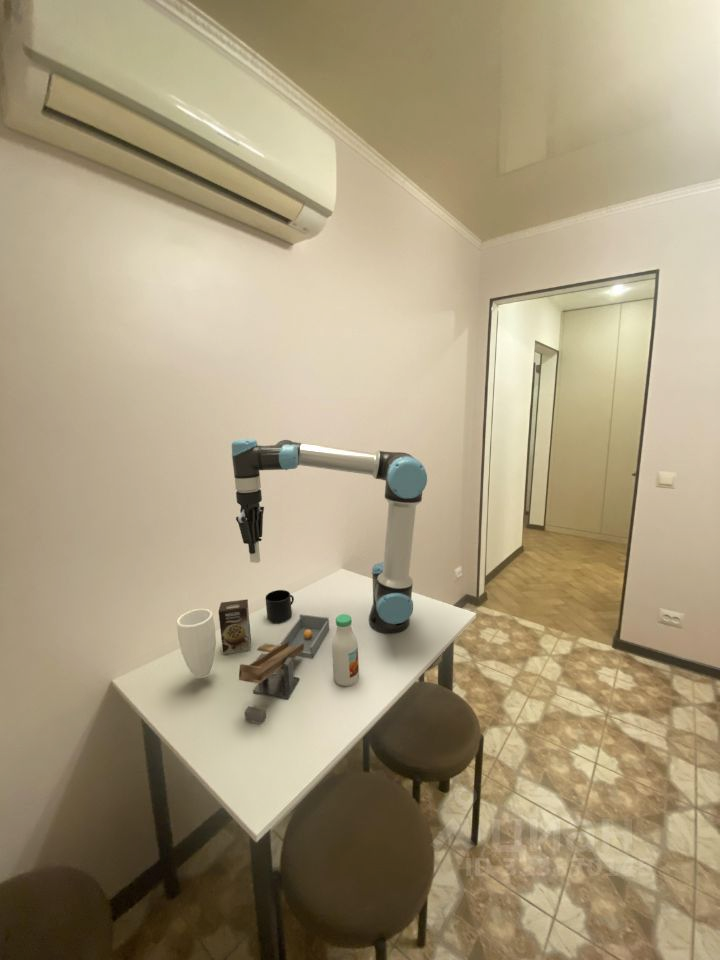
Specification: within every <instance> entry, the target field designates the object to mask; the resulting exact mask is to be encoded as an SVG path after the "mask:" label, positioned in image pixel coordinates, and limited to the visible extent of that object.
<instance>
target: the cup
mask: <svg viewBox="0 0 720 960" xmlns="http://www.w3.org/2000/svg"><path fill="white" fill-rule="evenodd" d="M214 619H215V618H214V615H213V612H212V610H209V609H208V608H195V609H191V610H189V611H187V612H184V613H182V614H181V615H180V616H179V617H178V618H177V621H176V628H177V638H178V642H179V647H180V652H181V655H182V657H183V660H184V663H185V665H186V667H187V668H188V670H189V672H190V674H192V676H193V677H194V678H196V679H203V678H205V677H207V676H208V675H210V673H211V671H212V667H213V664H214V660H215V655H216V654H215V653H216V646H217V639H216V637H217V636H216V626H215V620H214Z"/></svg>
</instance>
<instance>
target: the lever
mask: <svg viewBox="0 0 720 960" xmlns="http://www.w3.org/2000/svg"><path fill="white" fill-rule="evenodd" d="M288 643H289V642H288V641H287V642H285V643H283V644H282V645H281V644H280V645H279V644H278V645H277V644H271V643H264V644H262V645H260V646H258V647H257V650H256V651H259V652H265V654H266V655H264V656H262V657H261V658H259V659H258V660H257V659H256V660H254V661H253V662H252V663H250V664H244V663H240V664H239V671H238V672H239V673H238V674H239V675H238V681H243V682H247V683H254V684H257V685H258V684H260V683H261V682H263V681H264V680H265V679H267V678H268V677H269V676H271V675H272V674H273V673H274V674H276V672H277V671H279V670H280V669H281V670H284V665H283V664H284V663H285V661H286V660H287V658H288V657H289V658H292V659H295V658H296V657H299V656H298V655H299V654H300V653H302V652H303V649H304V644H301V645H299V646H298V647H289V646H288Z"/></svg>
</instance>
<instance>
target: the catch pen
mask: <svg viewBox="0 0 720 960" xmlns="http://www.w3.org/2000/svg"><path fill="white" fill-rule="evenodd" d="M308 629H309V630H311V631H312V637H311V638H309V639H307V638H305V637H304V632H305V631H306V630H308ZM329 632H330V619H329V617H325V616H319V615H318V616H317V615H308V614H299V618H298V619H297V620H296V622H294V625H293V626H292V627H291V628H290V630H289V631H288V633H287V634H286V635H285V636H284V638H283V639H282V640H281V641H280V645H282V644H283V643H285V642H287V641H288V642H289V643H288V646H289V647H298V646H299V645H301V644H304V649H303V652H302V653H300V654H299V655H298V656H297V657H301V658H309V659H314V657H315V656H316V655H317V652H318V650H319V649H320V647H321V645H322V644H323V641H324V640H325V638H326V637H327V634H328V633H329Z"/></svg>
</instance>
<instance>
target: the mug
mask: <svg viewBox="0 0 720 960" xmlns="http://www.w3.org/2000/svg"><path fill="white" fill-rule="evenodd" d="M294 600H295V597H294V596H293V595H292V594H291V593H290V592H289V591H288V590H285V589H277V590H273V591H270V592H269V593H267V594H266V596H265V608H266V617H267V620H268V622H269V623H273V624H280V623H284V622H287V621H289V620H290V619H291V618H292V614H293V613H292V605H293V604H294Z"/></svg>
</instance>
